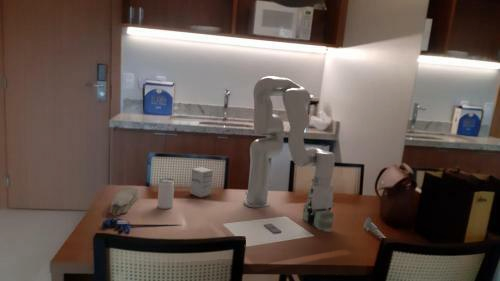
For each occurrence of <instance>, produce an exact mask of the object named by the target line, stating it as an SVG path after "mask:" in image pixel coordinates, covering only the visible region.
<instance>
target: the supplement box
mask: <svg viewBox="0 0 500 281" xmlns="http://www.w3.org/2000/svg"><path fill="white" fill-rule="evenodd" d="M213 171H214V170H212V169H210V168H206V167H203V166H201V167H199V166H198V167H195V168H194V167H193V168H192V170H191V179H190V191H189V192H190V194H191V195H194V196H196V197H199V198H203V197H207V196H210V195H211V194H212V193H211V192H212V182H213V173H214V172H213Z"/></svg>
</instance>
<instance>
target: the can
mask: <svg viewBox="0 0 500 281" xmlns="http://www.w3.org/2000/svg"><path fill="white" fill-rule="evenodd" d="M174 195H175V182H174V179H173V178H168V177H166V178H165V177H163V178H161V179H160V180H159V182H158V194H157V207H158V208H159V209H163V210H169V209H172V208H173V207H174V206H173V205H174Z"/></svg>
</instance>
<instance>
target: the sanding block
mask: <svg viewBox="0 0 500 281" xmlns="http://www.w3.org/2000/svg"><path fill="white" fill-rule="evenodd" d="M305 204H306V203H304V204H303V206H304V205H305ZM309 207H310V206H309ZM302 211H303V212H302V216H301V218H302V220H304V221H306V222H307V223H309V222H308V214H309V213H307V211H306V209H305V208H304V207H303V210H302ZM311 211H312V210H311ZM334 214H335V213H333V212H332V211H331V210H329V211H328V210H326V209H319V210H315V212H314V223H313V224H311V225H312V226H313V227H315V228H316V229H318V230H320V231H324V232H325V233H331V232H332V227H333V219H334ZM309 224H310V223H309Z"/></svg>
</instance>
